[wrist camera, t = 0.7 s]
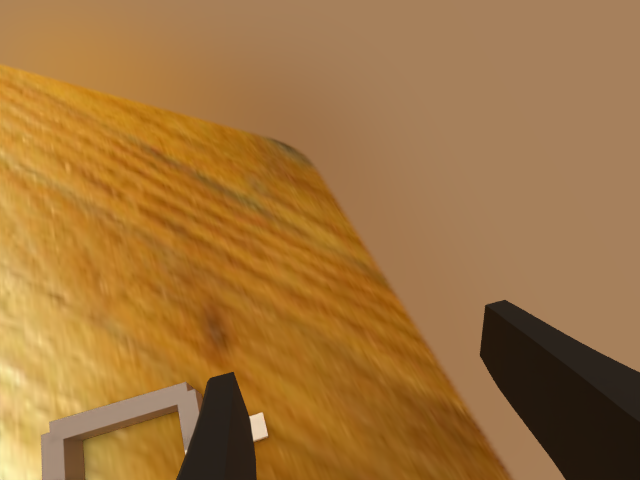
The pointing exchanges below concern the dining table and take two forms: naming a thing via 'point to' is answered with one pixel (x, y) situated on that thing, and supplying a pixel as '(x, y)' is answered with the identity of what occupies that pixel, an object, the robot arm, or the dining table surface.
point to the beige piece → (67, 433)
